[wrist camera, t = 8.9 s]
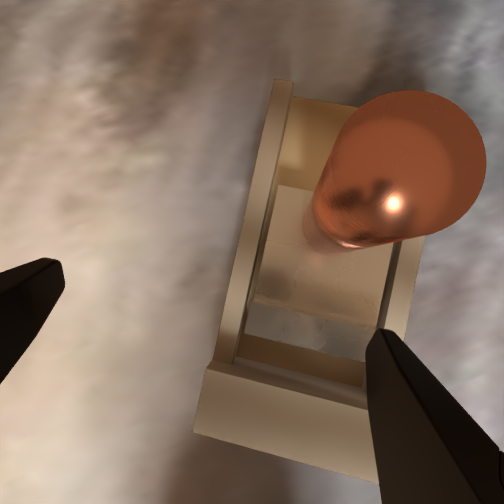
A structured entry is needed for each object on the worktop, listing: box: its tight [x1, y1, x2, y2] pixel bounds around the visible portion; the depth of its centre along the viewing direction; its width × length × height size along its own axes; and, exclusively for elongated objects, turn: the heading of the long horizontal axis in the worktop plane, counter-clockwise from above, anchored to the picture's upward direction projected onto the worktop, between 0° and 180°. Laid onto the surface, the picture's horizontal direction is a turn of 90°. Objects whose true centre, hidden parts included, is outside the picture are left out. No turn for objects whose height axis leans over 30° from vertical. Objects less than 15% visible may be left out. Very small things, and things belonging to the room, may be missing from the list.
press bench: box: [192, 79, 425, 484], centre depth 17 cm, size 18×9×4 cm, turn 168°
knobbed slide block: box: [244, 90, 486, 362], centre depth 12 cm, size 8×6×11 cm
